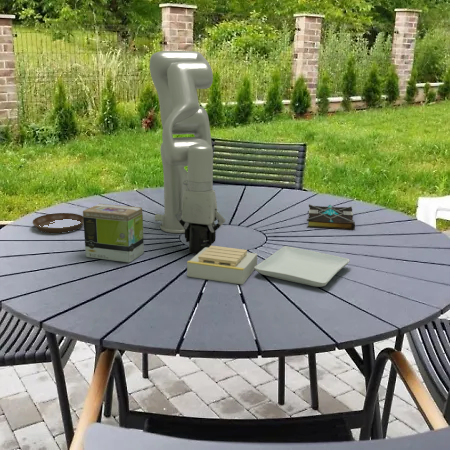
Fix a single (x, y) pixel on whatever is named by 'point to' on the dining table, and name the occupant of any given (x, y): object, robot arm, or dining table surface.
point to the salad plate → (302, 266)
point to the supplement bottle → (198, 237)
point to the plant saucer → (52, 217)
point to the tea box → (113, 232)
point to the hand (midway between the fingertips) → (200, 241)
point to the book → (331, 217)
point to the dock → (222, 264)
